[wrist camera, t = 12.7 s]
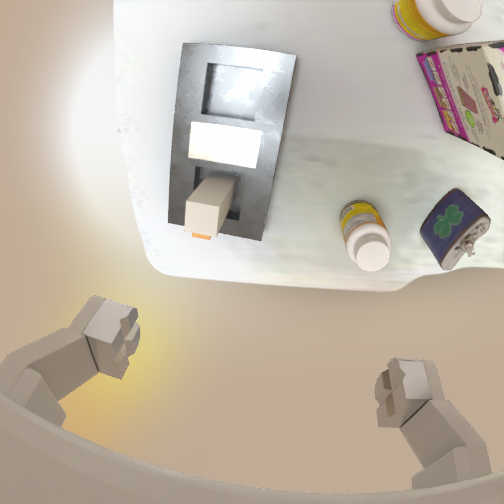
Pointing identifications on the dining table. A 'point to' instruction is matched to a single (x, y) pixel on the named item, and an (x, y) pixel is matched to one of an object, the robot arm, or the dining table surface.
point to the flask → (454, 228)
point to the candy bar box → (469, 91)
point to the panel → (229, 128)
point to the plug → (209, 205)
